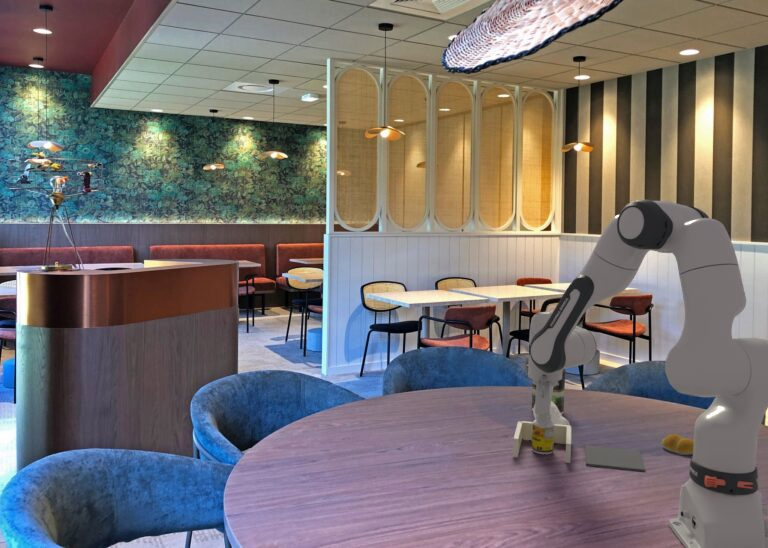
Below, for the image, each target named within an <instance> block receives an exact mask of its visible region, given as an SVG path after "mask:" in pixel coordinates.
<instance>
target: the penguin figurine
mask: <svg viewBox="0 0 768 548" xmlns="http://www.w3.org/2000/svg"><path fill="white" fill-rule="evenodd" d="M532 413H533V414H532V415H533V417H534V420H536V414H535V405H534V408H533V411H532ZM550 414H551V421H552V422H553V423H554V424H559V425H570V421H569V420H568V419H566V418H565V417H564V416H563V414H561V413H560V411H559V410H558V408H557V406H556V405H555V404H554V403H553V402H552V401H551V407H550ZM570 426H571V425H570Z"/></svg>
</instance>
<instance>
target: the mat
mask: <svg viewBox="0 0 768 548" xmlns="http://www.w3.org/2000/svg"><path fill="white" fill-rule="evenodd" d="M584 451H585V452H584V454H585V466H587V465H588V466H589V467H597V468H606V469H607V468H608V469H617V470H625V471H626V470H627V471H634V472H635V471H636V472H646V468H645V465H644V460H643V457H642V454H641V451H640V450H636V449H624V448H614V447H604V446H596V445H595V446H594V445H585V446H584Z"/></svg>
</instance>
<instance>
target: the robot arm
mask: <svg viewBox="0 0 768 548" xmlns="http://www.w3.org/2000/svg"><path fill="white" fill-rule="evenodd" d="M650 251H652V252H657V253H663V254H664V253H665V254H672V255H673V256H674V258H675V260H676V263H677V270H678V276H679V281H680V286H681V291H682V298H683V304H684V323H683V328H682V331H681V334H680V336H679V339H678V341H677V343H676V344H675V345H673V347H672V348H671V349H670V350H669V351H668V353H667V356H666V359H665V363H664V365H665V366H664V371H665V375H666V378H667V380H668V382H669V384H670V385H671V387H672V388H673V389H674V390H675V391H676V392H677V393H680V394H683V395H688V396H692V397H700V398H714V397H715V398H714V399H713V401H712V403H711V404H710V405H709V406H708V408H707V409H706V410H705V411H703V412H702V413H700V415H699V416H698V417H697V418H696V421H695V423H694V428H693V429H694V430H693V434H694V435H693V440H694V447H693V455H692V456H691V457H690V461H689V462H690V463H689V468H688V469H689V479H688V480H687V481H686V482H685V483H683V484H682V485H681V486H680V491H679V493H680V494H679V502H678V510H677V512H678V513H677V517H675V518H670V519H669V520H668V521H669V522H668V526H669V528H670V530H671V531H672V532H673V533H674V535H675V536H676V537H677V539H679V541H680V542H681V543H682V545H683V547H684V548H768V520H764V515H765V516H766V515H768V507H766V506H763V504H762V502H763V501H762V500H763V494H761V492H760V491H759V473H758V468H757V466H756V463H757V462H756V459H757V452H758V451H757V450H758V449H757V448H758V439H759V431H760V429H761V424H762V421H763V419H764V417H765V414H766V412H767V410H768V339H765V338H759V337H758V338H757V337H744V338H742V337H741V338H733V335H732V330H733V324H734V320H735V318H736V317H737V316H738V315H740V314H741V313H742V312H743V311H744V310H745V308H746V306H747V296H746V294H745V293H746V292H745V288H744V284H743V278H742V275H741V270H740V264H739V261H738V258H737V254H736V251H735V248H734V245H733V242H732V240H731V238H730V235H729V233H728V231H727V229H726V227H725V225H724V224H723V223H722V222H721V221H719V220H717V219H714V218H710V217H709V215H708V214H707V213H706V212H704V210H702V209H699V208H697V207H695V206H691V205H684V204H679V203H676V202H672V201H666V200H651V199H639V200H633V201H631V202H629V203H627V204H626V205H625V206H624V207H622V209H621V210H620V212H619V214H617V215H615V216H614V217H613V218H612V219H611V221H610V222H609V223H608V224H607V226H606V228H605V229H604V230H603V232H602V234H601V236H600V237H599V239H598V241H597V242H596V244H595V247H594V249H593V251H592V252H591V255H590V256H589V258H588V260H587V262H586V263H585V265H584V267H583V268H581V271H580V272H579V273H578V275H577V276H575V278H574V279H573V281H571V283H570V284H569V286H568V287H567V288H566V290H565V291H564V292H563V294H562V296H561V298H560V300H559V301H558V303H557V304H556V306H555V308H554V309H553V310H551V311H541V312H540V311H539V312H536V313H535V314H534V315H533V316H532V318H531V321H530V326H529V327H530V328H529V338H528V345H529V356H528V361H527V363H528V369H527V377H528V378H529V379H530V380H532V385H533V384H535V385H537V386H536V398H535V414H537V415H538V418H539V428H546V419H547V416H548V415H549V414H550V407H551V399H552V393H553V387H554V386H556V385H557V381H559V380H561V379H562V369H565V370H566V369H568V368H569V369H570V368H574V367H578V366H582V365H583V366H584V365H587V364H589V363H590V362H592V361H593V360H594V358H595V356H596V355H597V346H598V345H597V341H596V338H595V337H594V335H593V334H592V333H591V331H589V330H588V329H586V328H584V327H583V328H582V327H580V326H578V323H579V321H580V320H581V318H582V317H583V315H584V314H585V313H586V312H587V310H589V309H590V308H592V307H593V306H595V305H596V304H598V303H600V302H603V301H605V300H606V299H609V298H611V297H613V296H616V295H619V294H621V293H622V292H624V291H625V290H626V289H627V288H628V287H629V286H630V284H631V283H632V281H634V279H635V277H636V275H637V273H638V271H639V268H640V266H641V265H642V263H643V260H644V258H645V257H646V256H647V254H648V253H649V252H650Z"/></svg>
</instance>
